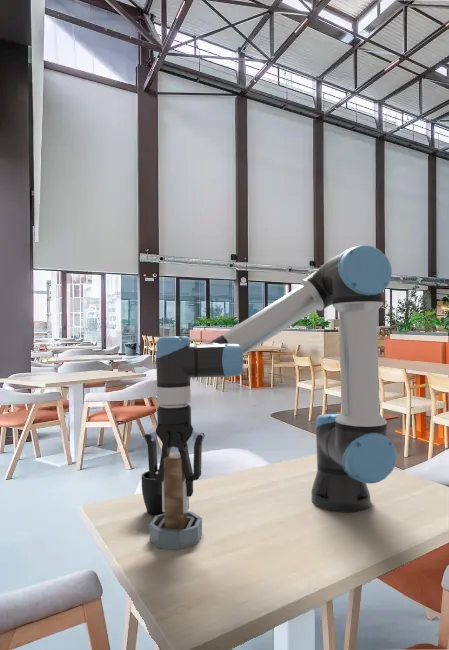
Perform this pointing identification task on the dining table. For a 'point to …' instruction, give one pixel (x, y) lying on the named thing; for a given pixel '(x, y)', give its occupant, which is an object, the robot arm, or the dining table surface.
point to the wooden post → (174, 492)
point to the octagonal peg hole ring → (175, 532)
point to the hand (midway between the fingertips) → (175, 509)
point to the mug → (151, 495)
